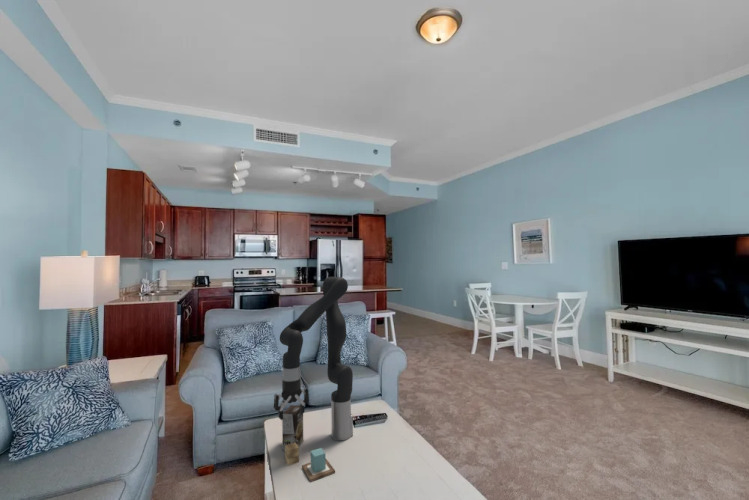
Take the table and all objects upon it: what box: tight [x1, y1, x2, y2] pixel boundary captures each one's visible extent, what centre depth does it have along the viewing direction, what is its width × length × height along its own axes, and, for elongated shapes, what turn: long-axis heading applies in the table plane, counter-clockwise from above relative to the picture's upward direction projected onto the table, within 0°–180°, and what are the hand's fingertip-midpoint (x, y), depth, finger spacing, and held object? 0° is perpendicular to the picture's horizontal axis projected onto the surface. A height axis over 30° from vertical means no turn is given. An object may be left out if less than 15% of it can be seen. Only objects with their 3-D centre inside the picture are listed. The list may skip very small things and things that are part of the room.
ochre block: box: [284, 443, 300, 466], centre depth 139 cm, size 4×4×6 cm
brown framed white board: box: [301, 458, 336, 483], centre depth 132 cm, size 10×10×1 cm
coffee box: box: [281, 405, 304, 452], centre depth 150 cm, size 9×6×16 cm
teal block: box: [310, 447, 327, 472], centre depth 132 cm, size 4×4×6 cm
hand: (291, 416), depth 139 cm, fingers open, 8 cm apart
